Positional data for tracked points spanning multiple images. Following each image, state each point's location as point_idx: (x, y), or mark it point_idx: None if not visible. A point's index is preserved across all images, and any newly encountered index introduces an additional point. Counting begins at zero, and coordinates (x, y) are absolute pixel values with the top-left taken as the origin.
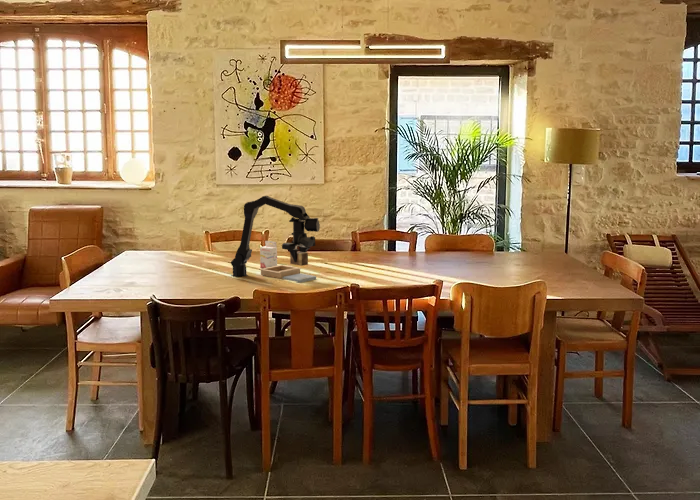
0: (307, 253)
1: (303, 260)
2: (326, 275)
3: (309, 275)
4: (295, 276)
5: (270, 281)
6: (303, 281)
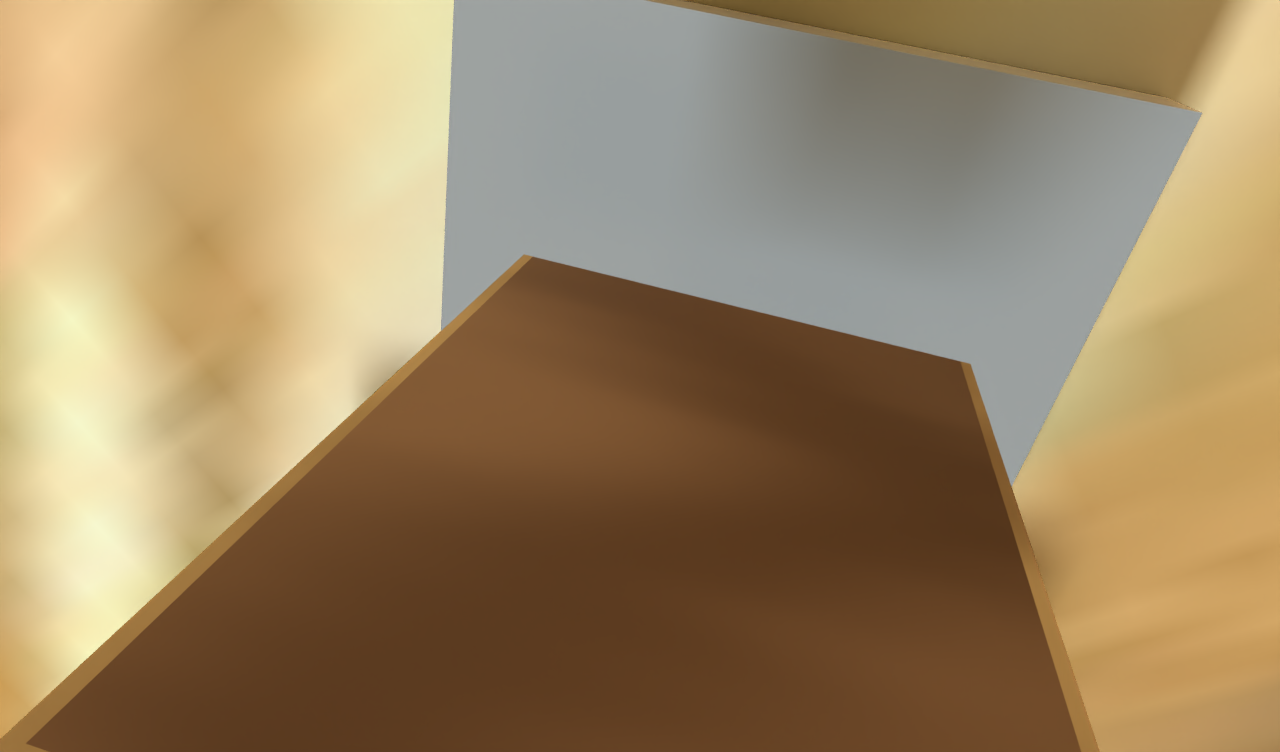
0: (129, 701)
1: (814, 463)
2: (24, 6)
3: (487, 199)
4: None
5: (1191, 726)
6: (995, 65)
